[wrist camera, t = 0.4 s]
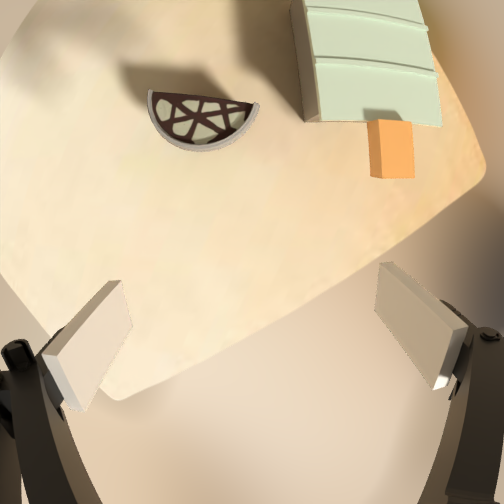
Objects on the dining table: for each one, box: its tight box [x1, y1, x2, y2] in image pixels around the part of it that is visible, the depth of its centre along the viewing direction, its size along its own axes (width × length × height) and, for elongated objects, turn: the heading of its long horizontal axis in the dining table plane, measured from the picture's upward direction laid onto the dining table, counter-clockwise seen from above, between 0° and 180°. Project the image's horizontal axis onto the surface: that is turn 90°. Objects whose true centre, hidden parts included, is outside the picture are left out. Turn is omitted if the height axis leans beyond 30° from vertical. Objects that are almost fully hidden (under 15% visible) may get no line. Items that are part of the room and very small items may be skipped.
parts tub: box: [290, 0, 367, 122], centre depth 29 cm, size 18×14×10 cm
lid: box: [302, 0, 442, 179], centre depth 25 cm, size 25×15×3 cm, turn 5°
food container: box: [147, 89, 260, 152], centre depth 32 cm, size 12×6×10 cm, turn 79°
